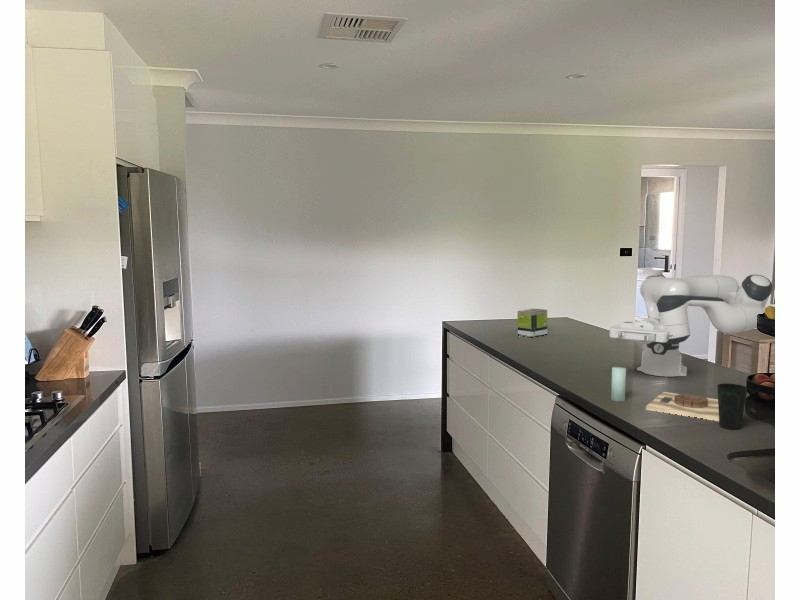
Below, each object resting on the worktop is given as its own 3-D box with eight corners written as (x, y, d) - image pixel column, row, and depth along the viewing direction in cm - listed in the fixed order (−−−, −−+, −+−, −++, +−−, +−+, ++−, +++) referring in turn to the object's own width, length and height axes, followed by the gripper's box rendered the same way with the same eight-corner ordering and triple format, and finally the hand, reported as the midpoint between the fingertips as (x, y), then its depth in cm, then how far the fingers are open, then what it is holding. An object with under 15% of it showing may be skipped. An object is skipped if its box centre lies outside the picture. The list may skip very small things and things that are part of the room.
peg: (613, 397, 207) (614, 366, 206) (626, 399, 204) (627, 367, 203) (609, 400, 203) (610, 368, 202) (622, 402, 200) (623, 370, 199)
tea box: (533, 333, 344) (533, 308, 343) (547, 335, 337) (548, 309, 335) (516, 336, 335) (517, 310, 333) (531, 338, 327) (531, 311, 325)
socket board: (663, 395, 209) (663, 386, 209) (734, 405, 196) (734, 395, 195) (646, 409, 191) (646, 400, 191) (722, 422, 178) (723, 411, 178)
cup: (748, 426, 174) (750, 386, 173) (741, 432, 168) (743, 391, 167) (719, 421, 179) (721, 382, 178) (711, 426, 174) (714, 386, 172)
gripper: (673, 343, 215) (663, 349, 204) (616, 338, 228) (603, 343, 217) (674, 326, 215) (663, 330, 204) (617, 321, 227) (604, 326, 217)
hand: (632, 337), depth 211 cm, fingers open, 8 cm apart
